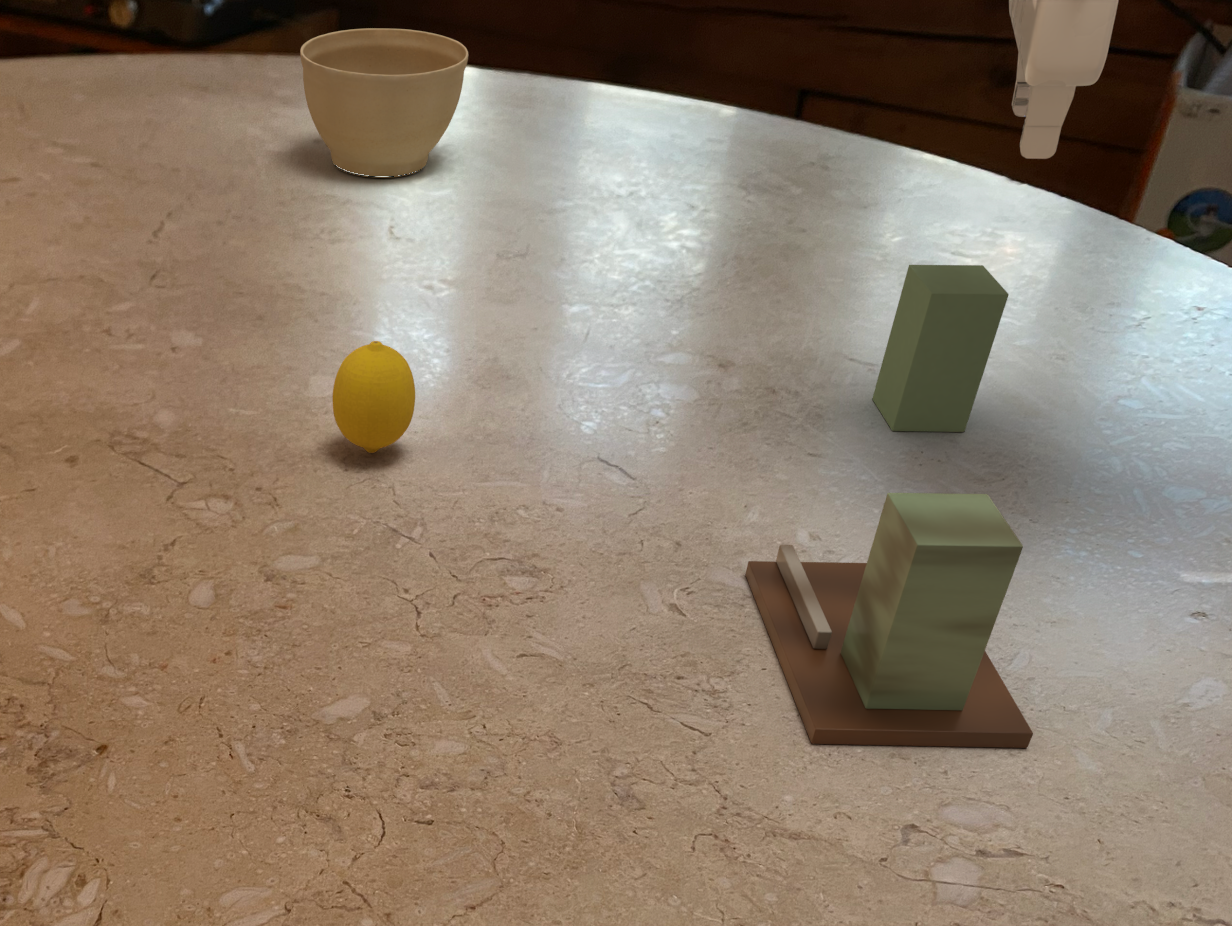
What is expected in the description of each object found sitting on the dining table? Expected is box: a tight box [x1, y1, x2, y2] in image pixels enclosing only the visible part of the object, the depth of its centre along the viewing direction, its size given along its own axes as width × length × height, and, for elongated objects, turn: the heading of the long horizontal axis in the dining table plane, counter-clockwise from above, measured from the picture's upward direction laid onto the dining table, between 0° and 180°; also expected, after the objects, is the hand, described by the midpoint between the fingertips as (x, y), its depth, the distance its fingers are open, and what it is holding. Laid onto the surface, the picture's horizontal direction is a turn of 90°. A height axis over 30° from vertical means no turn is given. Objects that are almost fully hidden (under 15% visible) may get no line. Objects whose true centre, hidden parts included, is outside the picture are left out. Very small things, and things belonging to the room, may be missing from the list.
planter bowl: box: [299, 27, 469, 179], centre depth 143 cm, size 16×16×11 cm
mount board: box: [744, 492, 1034, 749], centre depth 78 cm, size 16×11×11 cm
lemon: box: [332, 340, 416, 454], centre depth 97 cm, size 6×6×8 cm
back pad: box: [871, 264, 1010, 433], centre depth 101 cm, size 5×5×10 cm
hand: (1031, 134), depth 86 cm, fingers open, 8 cm apart
